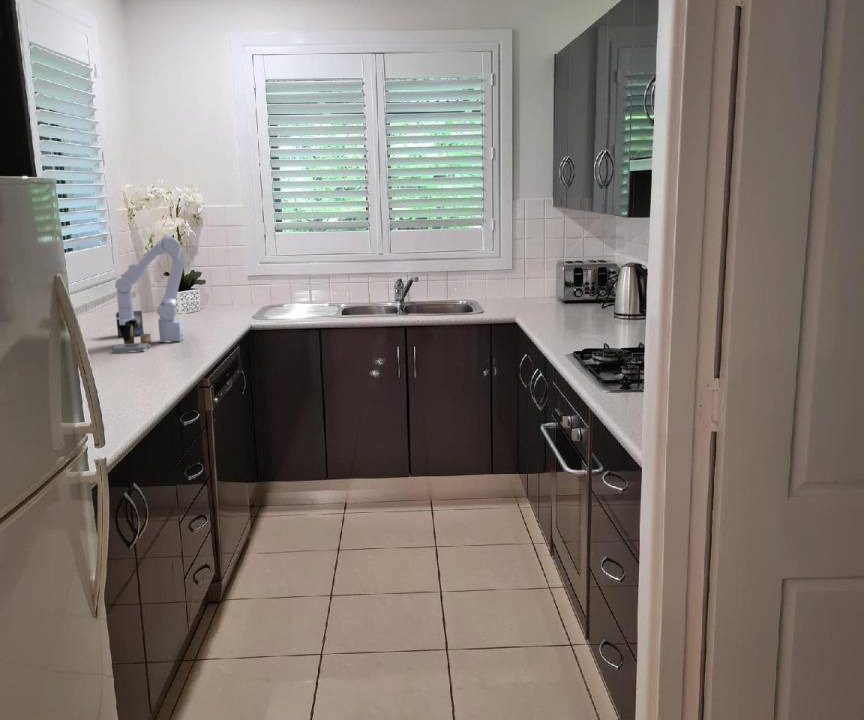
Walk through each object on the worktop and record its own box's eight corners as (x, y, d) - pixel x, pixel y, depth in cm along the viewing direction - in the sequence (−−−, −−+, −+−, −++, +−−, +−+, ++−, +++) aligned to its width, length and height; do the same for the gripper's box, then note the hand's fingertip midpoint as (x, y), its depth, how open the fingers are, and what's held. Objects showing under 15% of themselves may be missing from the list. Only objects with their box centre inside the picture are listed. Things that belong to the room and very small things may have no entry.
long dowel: (135, 343, 343) (133, 325, 341) (133, 345, 339) (131, 326, 337) (125, 344, 343) (123, 325, 341) (123, 346, 339) (121, 327, 337)
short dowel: (152, 344, 341) (151, 333, 340) (150, 346, 337) (149, 335, 336) (142, 344, 341) (141, 334, 340) (140, 346, 337) (139, 336, 336)
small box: (117, 337, 357) (115, 314, 355) (119, 335, 363) (116, 311, 361) (143, 336, 360) (140, 312, 357) (144, 333, 366) (141, 310, 363)
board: (149, 347, 334) (148, 343, 333) (144, 352, 326) (143, 347, 326) (119, 348, 333) (118, 344, 332) (113, 353, 325) (112, 348, 325)
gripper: (120, 304, 344) (123, 336, 347) (110, 310, 330) (113, 342, 333) (137, 304, 345) (140, 335, 348) (128, 309, 330) (131, 342, 333)
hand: (128, 339), depth 340 cm, fingers open, 5 cm apart
